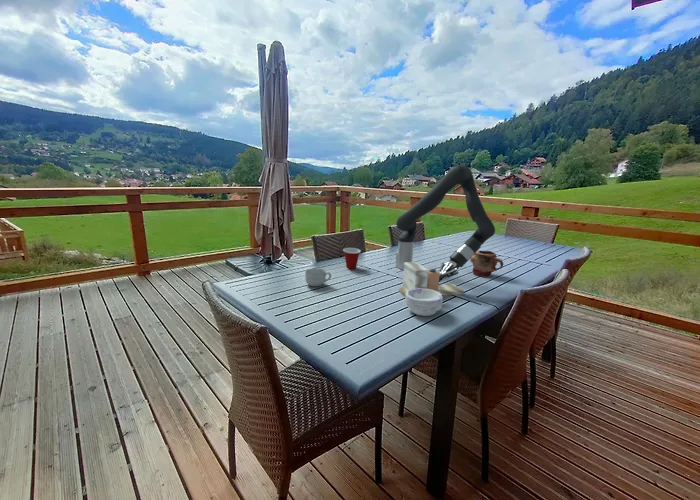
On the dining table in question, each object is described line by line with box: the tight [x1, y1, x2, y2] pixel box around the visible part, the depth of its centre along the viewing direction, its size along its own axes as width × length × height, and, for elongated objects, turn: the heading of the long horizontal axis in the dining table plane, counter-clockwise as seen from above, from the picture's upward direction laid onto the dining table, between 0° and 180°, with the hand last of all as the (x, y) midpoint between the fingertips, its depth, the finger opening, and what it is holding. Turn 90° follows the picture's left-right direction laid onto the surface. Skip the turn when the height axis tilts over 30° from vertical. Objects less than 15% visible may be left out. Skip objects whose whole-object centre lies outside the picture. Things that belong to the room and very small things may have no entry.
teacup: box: [304, 267, 332, 287], centre depth 154 cm, size 14×11×8 cm
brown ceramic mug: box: [469, 249, 504, 278], centre depth 172 cm, size 20×12×14 cm, turn 40°
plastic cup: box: [342, 247, 361, 270], centre depth 183 cm, size 11×11×12 cm
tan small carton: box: [427, 268, 440, 291], centre depth 146 cm, size 5×5×10 cm
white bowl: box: [404, 288, 444, 317], centre depth 125 cm, size 15×15×8 cm
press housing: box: [398, 261, 465, 298], centre depth 146 cm, size 30×14×14 cm, turn 102°
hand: (437, 280), depth 147 cm, fingers closed
